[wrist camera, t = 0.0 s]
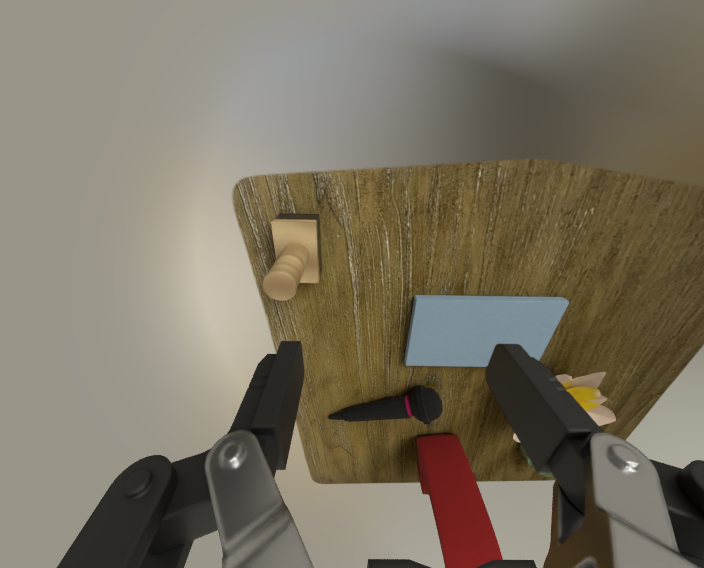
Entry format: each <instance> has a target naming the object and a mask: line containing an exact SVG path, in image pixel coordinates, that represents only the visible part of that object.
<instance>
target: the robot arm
mask: <svg viewBox="0 0 704 568" xmlns="http://www.w3.org/2000/svg"><path fill="white" fill-rule="evenodd" d="M303 380H304V363H303V354H302V345H301V341H282V342H281V343H280V346H279V349H278V352H277V354H267V355H266V356H265V357H264V358H263V359H262V361H261V362H260V363H259V364H258V366H257V368H256V370H255V373H254V375H253V378H252V380H251V382H250V384H249V388H248V389H247V391H246V394H245V396H244V399H243V401H242V403H241V406H240V408H239V410H238V413H237V415H236V417H235V420H234V422H233V424H232V426H231V429H230V430H229V432H228V433H227V434H226V435H225V436H223V437H222V438H221V439H219V440H218V441H217V442H216V443H215V444H214V446H213V447H212V448H211V449H209V450H207V451H206V452H203V453H201V454H198V455H195V456H192V457H188V458H185V459H182V460H179V461H176V462H173V463H171V462H170V461H169V460H168V459H167V458H166V457H164V456H161V455H153V456H149V457H145V458H143V459H140V460H139V461H137V462H135V463H133V464H132V465H130V466H129V467H128V468H127V469H126V470H124V471H123V472H122V473H121V474H120V475H119V476H118V477H117V478H116V479H115V480H114V482H113V483H112V484H111V486H110V487H109V489H108V490H107V492H106V494H105V495H104V497H103V498H102V499H101V501H100V503H99V504H98V506H97V507H96V509H95V510H94V512H93V513H92V515H91V516H90V518H89V519H88V521H87V522H86V524H85V526H84V527H83V528H82V530H81V532H80V533H79V535H78V536H77V538H76V539H75V541H74V542H73V544H72V545H71V547H70V548H69V550H68V551H67V553H66V555H65V556H64V558H63V559H62V561H61V562H60V564H59V565H58V567H57V568H184V566H185V563H186V560H187V557H188V555H189V552H190V549H191V546H192V543H193V541H194V539H196V538H199V537H202V536H204V535H207V534H209V533H212V532H214V531H216V530H218V532H219V536H220V540H221V545H222V550H223V558H222V568H314V567H313V565H312V562H311V560H310V558H309V555H308V553H307V551H306V548H305V546H304V543H303V541H302V539H301V536H300V534H299V532H298V529H297V527H296V525H295V523H294V520H293V518H292V516H291V514H290V511H289V510H288V508H287V506H286V505H285V503H284V501H283V499H282V496H281V494H280V492H279V489H278V487H277V484H276V482H275V480H274V477H275V473H276V470H285V469H286V464H287V459H288V454H289V449H290V444H291V439H292V434H293V430H294V425H295V420H296V415H297V410H298V405H299V400H300V395H301V390H302V386H303ZM486 381H487V384H488V386H489V388H490V390H491V391H492V393H493V395H494V397H495V398H496V400H497V402H498V404H499V406H500V407H501V409H502V411H503V413H504V414H505V416H506V418H507V420H508V422H509V423H510V425H511V427H512V429H513V430H514V432H515V434H516V436H517V438H518V439H519V441H520V443H521V445H522V446H523V448H524V450H525V452H526V453H527V455H528V457H529V459H530V461H531V462H532V464H533V466H534V468H535V469H536V471H537V473H553V475H554V477H555V478H556V481H555V483H554V486H553V502H552V524H551V543H550V549H549V552H548V555H547V557H546V560H545V562H544V566H543V568H704V461H701V460H696V461H693V462H691V463H690V464H689V465H687V466H686V467H685V468H684V469H681V468H677V467H674V466H670V465H667V464H664V463H660V462H657V461H654V460H650V459H648V458H647V457H646V456H645V455H644V454H643V453H642V452H641V451H640V450H638V449H637V448H636V447H634V446H633V445H631V444H630V443H628V442H627V441H625V440H623V439H621V438H619V437H617V436H614V435H611V434H607V433H605V432H604V431H603V430H602V429H601V428H600V427H599V426H598V425H597V423H596V422H595V421H594V420H593V419H592V418H591V417H590V415H589V414H588V413H587V412H586V411H585V410H584V409H583V407H582V406H581V405H580V404H579V403H578V402H577V401H576V399H575V398H574V397H573V396H572V395H571V394H570V393H569V392H567V391H566V388H565V387H564V386H563V385H562V383H561V382H560V381H558V379H557V378H556V377H555V375H554V374H553V373H552V372H551V371H550V370H549V369H548V367H546V366H545V365H544V364H542V363H541V362H539V361H538V360H537V359H535V358H534V357H530V356H529V355H528V353H527V352H526V351H525V350H524V349H523V347H522V346H521V345H519V344H497V345H496V346H495V348H494V350H493V353H492V355H491V358H490V361H489V363H488V366H487V368H486ZM367 568H430V567H428V566H425V565H422V564H420V563H417V562H414V561H412V560H404V559H403V560H401V559H400V560H398V559H395V560H394V559H387V560H386V559H368V565H367ZM476 568H537V567H536V565H535V563H534V560H492V561H489V562H487V563H485V564H482V565H480V566H478V567H476Z"/></svg>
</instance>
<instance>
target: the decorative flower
mask: <svg viewBox="0 0 704 568" xmlns="http://www.w3.org/2000/svg"><path fill="white" fill-rule="evenodd" d="M605 374H606V372H598V373H593V374H588V375H584V376H581V377H577V378H574V379H572V377H571V376H568V375H566V374H562V375H557V376H555V377H556V378H557V379H558V381H560V382H561V383H562V385H563V386H564V387H565V388H566V391H567V392H569V393H570V394H571V395H572V396H573V397H574V398H575V399H576V401H577V402H578V403H579V404H580V405H581V406H582V407H583V409H584V410H585V411H586V412H587V413H588V414H589V415H590V417H591V418H592V419H593V420H594V421H595V422H596V423H597V425H598V426H601V425H604V424H608V423H611V422H614V421H616V418H615V415H614V413H613V412H612V411H610V410H609V409H608V408H606V407H604V406H602V405H600V404H602V403H603V402H605V401H606V400H607V398H606V397H604V396H602V395H600V391H599V390H598V389H597V388H598V386H599V384H600V383H601V381H602V379H603V378H604V376H605ZM513 439H514V440H515V441H517V442H519V443H520V441H519V439H518V438H517V436H516V434H514V436H513Z"/></svg>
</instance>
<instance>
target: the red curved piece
mask: <svg viewBox="0 0 704 568" xmlns="http://www.w3.org/2000/svg"><path fill="white" fill-rule="evenodd" d="M417 452H418V461H419V462H418V463H417V466H418V472H419V478H420V484H421V489H422V493H423V494H429V496H430V500H431V504H432V509H433V513H434V517H435V521H436V526H437V530H438V535H439V539H440V544H441V549H442V553H443V557H444V563H445V568H476V567H478V566H480V565H482V564H485V563H487V562H489V561H492V560H503V559H502V555H501V552H500V548H499V545H498V542H497V539H496V536H495V533H494V530H493V527H492V524H491V521H490V518H489V516H488V513H487V510H486V507H485V504H484V502H483V499H482V496H481V493H480V491H479V488H478V485H477V483H476V480H475V477H474V475H473V472H472V470H471V467H470V465H469V462H468V459H467V457H466V455H465V452H464V450H463V448H462V445H461V443H460V441H459V439H458V437H457V435H455V434H438V435H427V436H420V437H417Z"/></svg>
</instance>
